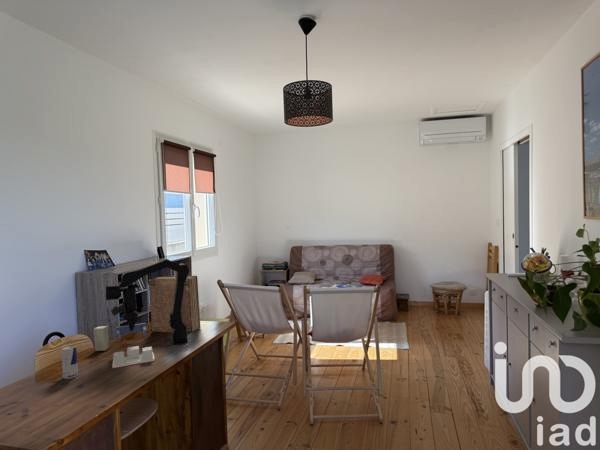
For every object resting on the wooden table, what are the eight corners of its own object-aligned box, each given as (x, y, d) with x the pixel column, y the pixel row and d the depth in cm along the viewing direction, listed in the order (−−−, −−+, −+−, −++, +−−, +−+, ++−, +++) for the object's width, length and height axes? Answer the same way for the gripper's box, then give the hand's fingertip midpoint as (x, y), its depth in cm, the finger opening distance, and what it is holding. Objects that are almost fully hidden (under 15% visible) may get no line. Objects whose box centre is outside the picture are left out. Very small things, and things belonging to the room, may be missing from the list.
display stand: (113, 360, 184) (112, 349, 184) (153, 354, 191) (152, 343, 191) (112, 368, 175) (111, 356, 175) (154, 360, 182) (153, 349, 181)
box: (110, 347, 204) (108, 325, 204) (105, 350, 200) (103, 328, 200) (100, 348, 205) (98, 326, 204) (94, 351, 200) (93, 328, 200)
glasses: (116, 334, 195) (116, 326, 195) (146, 329, 200) (145, 322, 200) (116, 339, 186) (115, 331, 186) (146, 334, 191) (146, 327, 191)
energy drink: (81, 374, 170) (79, 345, 169) (70, 379, 165) (68, 350, 164) (71, 373, 171) (69, 345, 171) (60, 378, 166) (58, 349, 166)
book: (200, 328, 231) (197, 275, 230) (192, 333, 222) (188, 278, 221) (161, 327, 238) (158, 276, 237) (151, 332, 229) (148, 278, 228)
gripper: (111, 296, 202) (113, 328, 203) (110, 303, 185) (112, 337, 185) (136, 293, 207) (138, 324, 207) (136, 300, 189) (139, 333, 190)
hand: (131, 330), depth 197 cm, fingers closed on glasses, 2 cm apart
